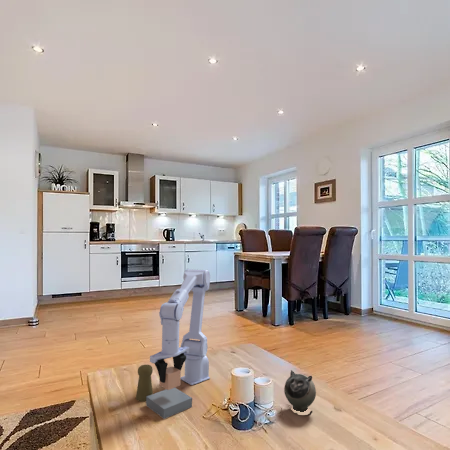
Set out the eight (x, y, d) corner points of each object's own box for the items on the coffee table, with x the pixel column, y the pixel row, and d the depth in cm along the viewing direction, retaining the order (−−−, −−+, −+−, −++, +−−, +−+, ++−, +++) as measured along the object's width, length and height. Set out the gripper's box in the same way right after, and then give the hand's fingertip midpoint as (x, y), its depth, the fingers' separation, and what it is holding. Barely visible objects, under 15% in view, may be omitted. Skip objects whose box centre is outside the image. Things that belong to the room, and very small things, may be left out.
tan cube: (180, 385, 109) (180, 370, 109) (168, 390, 106) (168, 374, 106) (171, 380, 113) (171, 366, 113) (159, 385, 109) (159, 370, 109)
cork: (148, 402, 111) (149, 369, 112) (132, 400, 113) (133, 368, 113) (155, 394, 117) (156, 363, 118) (140, 392, 118) (141, 361, 119)
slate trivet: (173, 395, 117) (173, 386, 117) (191, 406, 109) (192, 397, 109) (146, 405, 109) (146, 396, 109) (163, 419, 101) (164, 409, 101)
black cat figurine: (282, 415, 105) (315, 421, 101) (281, 377, 105) (314, 381, 102) (286, 401, 114) (317, 405, 111) (286, 366, 115) (316, 369, 111)
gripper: (181, 331, 118) (180, 369, 117) (145, 340, 108) (144, 381, 107) (193, 336, 113) (192, 376, 112) (156, 345, 103) (155, 388, 102)
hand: (169, 379), depth 109 cm, fingers closed on tan cube, 5 cm apart
